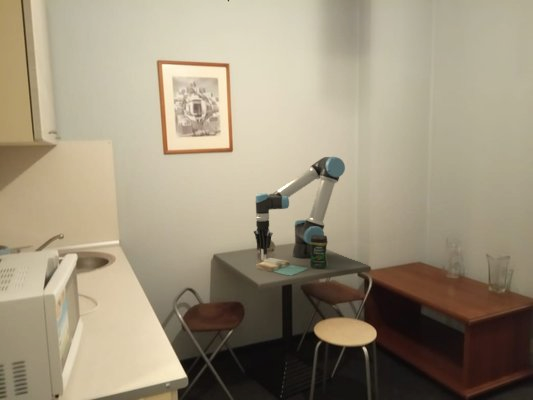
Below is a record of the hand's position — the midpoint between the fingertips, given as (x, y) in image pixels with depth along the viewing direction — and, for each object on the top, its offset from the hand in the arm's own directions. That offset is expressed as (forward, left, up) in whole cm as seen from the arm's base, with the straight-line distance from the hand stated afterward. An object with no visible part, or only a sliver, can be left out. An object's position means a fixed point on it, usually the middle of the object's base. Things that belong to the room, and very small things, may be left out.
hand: (263, 259), depth 237 cm
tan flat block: (0, +7, -3) cm, 8 cm away
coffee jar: (-15, +29, -4) cm, 33 cm away
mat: (0, +19, -3) cm, 20 cm away
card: (0, +7, -1) cm, 7 cm away
